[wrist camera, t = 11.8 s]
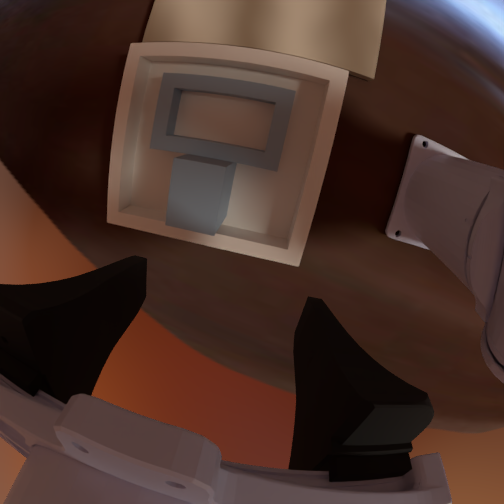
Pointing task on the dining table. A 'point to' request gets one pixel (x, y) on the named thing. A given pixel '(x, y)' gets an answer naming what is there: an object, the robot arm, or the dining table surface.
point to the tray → (227, 131)
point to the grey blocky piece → (212, 149)
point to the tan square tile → (279, 28)
